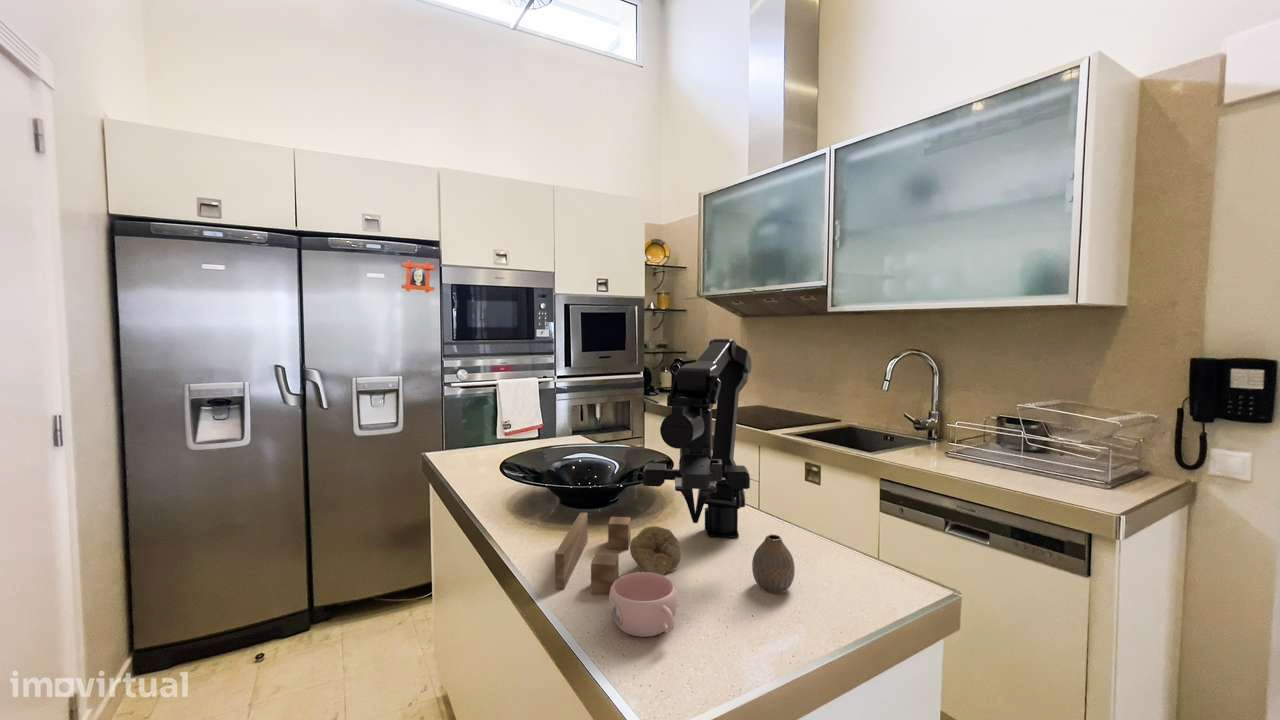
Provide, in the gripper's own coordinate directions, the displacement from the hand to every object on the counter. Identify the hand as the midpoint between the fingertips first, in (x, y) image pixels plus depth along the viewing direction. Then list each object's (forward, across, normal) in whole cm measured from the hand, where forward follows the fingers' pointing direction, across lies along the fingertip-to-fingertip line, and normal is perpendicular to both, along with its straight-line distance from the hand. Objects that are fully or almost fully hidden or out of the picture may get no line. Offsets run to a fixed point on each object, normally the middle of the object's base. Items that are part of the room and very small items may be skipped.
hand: (695, 522), depth 94 cm
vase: (+9, +13, -6) cm, 17 cm away
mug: (+9, -7, -20) cm, 23 cm away
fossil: (+9, -7, -1) cm, 11 cm away
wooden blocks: (+8, -18, 0) cm, 20 cm away
